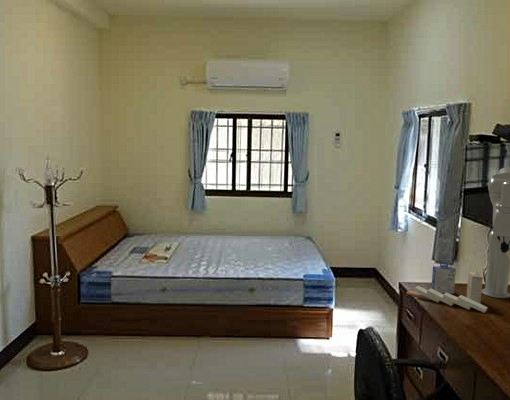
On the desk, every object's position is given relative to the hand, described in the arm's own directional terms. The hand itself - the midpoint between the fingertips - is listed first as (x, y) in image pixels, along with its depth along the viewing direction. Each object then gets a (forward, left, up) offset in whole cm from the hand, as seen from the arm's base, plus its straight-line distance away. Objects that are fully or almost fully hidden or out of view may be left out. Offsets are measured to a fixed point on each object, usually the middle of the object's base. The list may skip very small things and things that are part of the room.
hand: (504, 251), depth 225 cm
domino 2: (+9, -22, -25) cm, 35 cm away
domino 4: (+8, -9, -25) cm, 28 cm away
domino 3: (+9, -16, -25) cm, 31 cm away
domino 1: (+7, -26, -26) cm, 38 cm away
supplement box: (-3, -12, -26) cm, 29 cm away
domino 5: (+7, -3, -25) cm, 26 cm away
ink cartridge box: (-8, -28, -26) cm, 39 cm away
